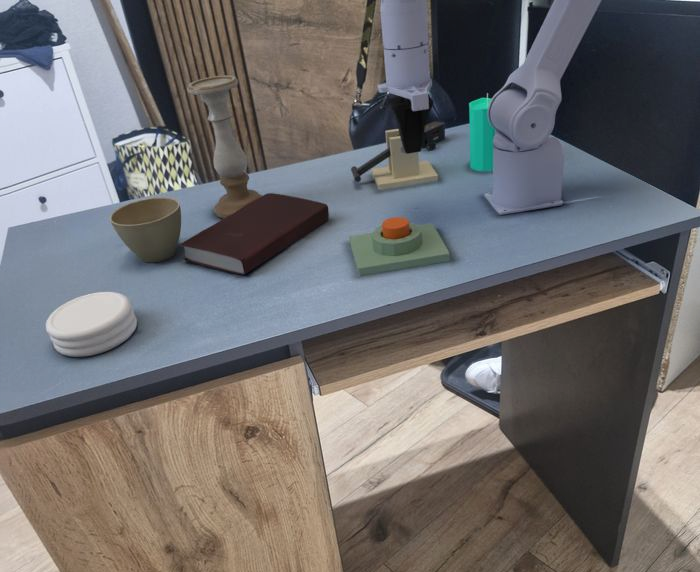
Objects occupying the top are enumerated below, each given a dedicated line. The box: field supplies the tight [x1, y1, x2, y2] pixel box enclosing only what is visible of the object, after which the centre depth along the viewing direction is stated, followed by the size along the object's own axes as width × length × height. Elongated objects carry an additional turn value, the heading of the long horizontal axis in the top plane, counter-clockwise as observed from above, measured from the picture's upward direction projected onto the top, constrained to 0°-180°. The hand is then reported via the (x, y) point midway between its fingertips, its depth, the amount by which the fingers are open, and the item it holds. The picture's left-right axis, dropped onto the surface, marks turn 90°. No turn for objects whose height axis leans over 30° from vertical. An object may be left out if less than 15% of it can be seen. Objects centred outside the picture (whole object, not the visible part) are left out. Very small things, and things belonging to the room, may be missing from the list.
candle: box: [468, 92, 495, 172], centre depth 106 cm, size 6×6×12 cm
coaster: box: [45, 291, 138, 358], centre depth 78 cm, size 10×10×4 cm
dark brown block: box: [421, 121, 446, 151], centre depth 121 cm, size 5×7×3 cm, turn 134°
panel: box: [348, 222, 451, 277], centre depth 86 cm, size 12×10×3 cm
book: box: [180, 192, 330, 276], centre depth 95 cm, size 12×19×3 cm, turn 145°
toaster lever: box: [350, 134, 400, 183], centre depth 107 cm, size 11×5×2 cm, turn 97°
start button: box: [381, 216, 410, 239], centre depth 85 cm, size 4×4×2 cm
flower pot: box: [109, 196, 182, 263], centre depth 94 cm, size 10×10×7 cm
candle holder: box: [186, 74, 263, 219], centre depth 101 cm, size 9×9×20 cm
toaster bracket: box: [371, 128, 439, 191], centre depth 107 cm, size 10×8×8 cm
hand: (412, 151), depth 89 cm, fingers closed
